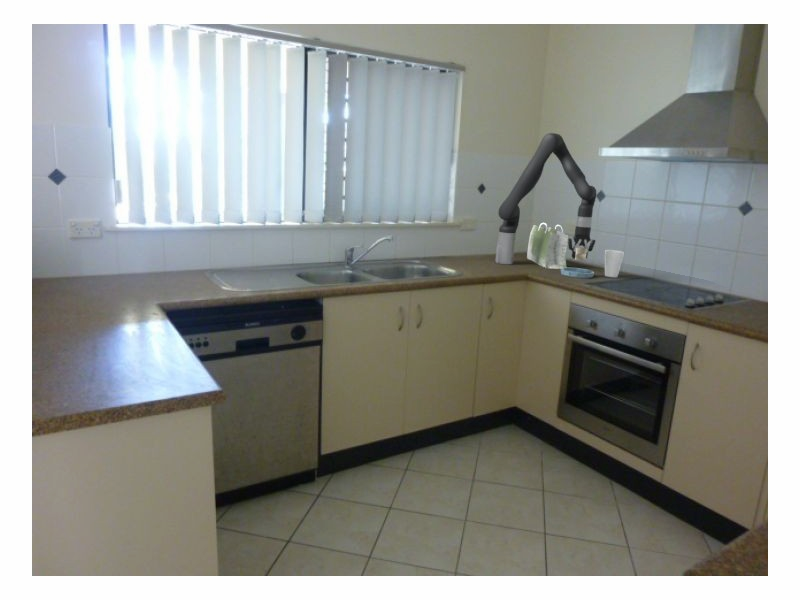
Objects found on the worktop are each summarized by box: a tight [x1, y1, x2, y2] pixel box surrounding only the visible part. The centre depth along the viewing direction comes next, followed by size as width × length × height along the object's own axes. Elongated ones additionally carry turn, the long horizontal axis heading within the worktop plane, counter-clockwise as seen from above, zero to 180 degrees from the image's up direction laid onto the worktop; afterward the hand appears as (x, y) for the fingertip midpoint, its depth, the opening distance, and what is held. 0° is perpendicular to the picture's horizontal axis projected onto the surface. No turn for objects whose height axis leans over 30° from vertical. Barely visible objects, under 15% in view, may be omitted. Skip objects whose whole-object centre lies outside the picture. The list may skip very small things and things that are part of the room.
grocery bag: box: [526, 222, 570, 270], centre depth 322 cm, size 32×14×23 cm, turn 7°
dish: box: [560, 267, 595, 279], centre depth 292 cm, size 16×16×2 cm
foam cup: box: [604, 249, 625, 278], centre depth 294 cm, size 10×9×13 cm
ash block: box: [573, 246, 587, 262], centre depth 290 cm, size 5×5×6 cm
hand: (579, 258), depth 290 cm, fingers closed on ash block, 5 cm apart
